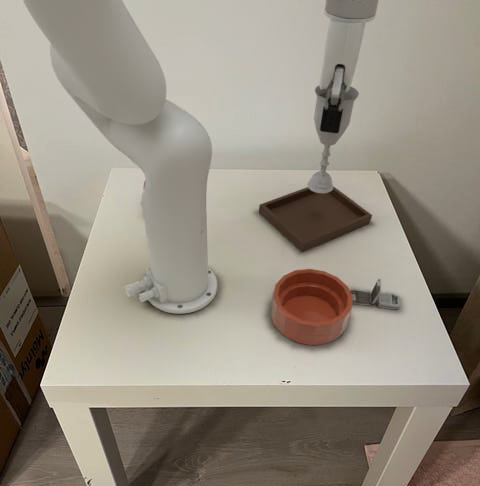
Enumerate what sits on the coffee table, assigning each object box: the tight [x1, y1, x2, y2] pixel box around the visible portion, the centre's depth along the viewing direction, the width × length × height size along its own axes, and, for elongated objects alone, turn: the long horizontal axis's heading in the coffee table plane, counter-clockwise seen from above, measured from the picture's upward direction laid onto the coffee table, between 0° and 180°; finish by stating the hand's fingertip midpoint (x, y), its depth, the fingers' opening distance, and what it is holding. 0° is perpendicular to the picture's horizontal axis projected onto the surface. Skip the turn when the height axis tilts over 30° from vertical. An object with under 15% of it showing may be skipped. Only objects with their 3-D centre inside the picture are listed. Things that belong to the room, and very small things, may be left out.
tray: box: [258, 185, 373, 253], centre depth 99 cm, size 18×15×2 cm
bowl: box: [270, 268, 354, 346], centre depth 80 cm, size 13×13×5 cm
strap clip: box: [350, 278, 401, 310], centre depth 83 cm, size 8×3×4 cm, turn 80°
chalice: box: [306, 84, 360, 193], centre depth 87 cm, size 7×7×18 cm
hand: (331, 120), depth 84 cm, fingers closed on chalice, 6 cm apart
